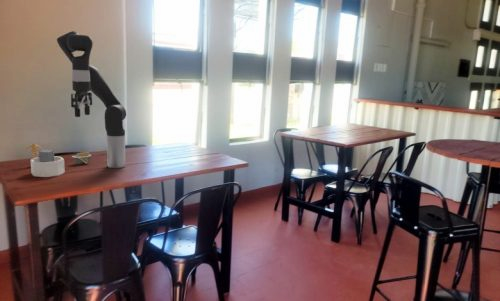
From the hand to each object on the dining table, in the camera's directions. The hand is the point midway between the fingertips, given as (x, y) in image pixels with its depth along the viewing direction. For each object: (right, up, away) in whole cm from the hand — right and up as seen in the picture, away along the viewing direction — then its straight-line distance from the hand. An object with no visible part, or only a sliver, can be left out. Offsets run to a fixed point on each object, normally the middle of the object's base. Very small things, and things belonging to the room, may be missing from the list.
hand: (82, 115), depth 177 cm
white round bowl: (-22, -27, +12) cm, 37 cm away
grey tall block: (-22, -26, +11) cm, 36 cm away
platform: (-14, -24, +33) cm, 43 cm away
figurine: (-35, -24, +24) cm, 49 cm away
